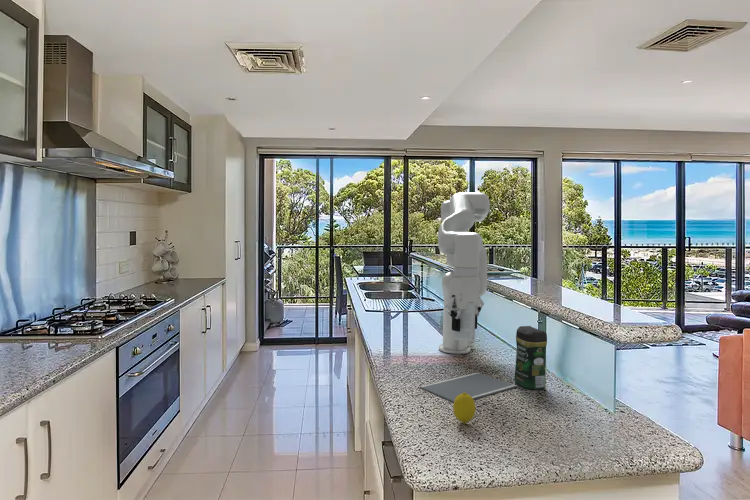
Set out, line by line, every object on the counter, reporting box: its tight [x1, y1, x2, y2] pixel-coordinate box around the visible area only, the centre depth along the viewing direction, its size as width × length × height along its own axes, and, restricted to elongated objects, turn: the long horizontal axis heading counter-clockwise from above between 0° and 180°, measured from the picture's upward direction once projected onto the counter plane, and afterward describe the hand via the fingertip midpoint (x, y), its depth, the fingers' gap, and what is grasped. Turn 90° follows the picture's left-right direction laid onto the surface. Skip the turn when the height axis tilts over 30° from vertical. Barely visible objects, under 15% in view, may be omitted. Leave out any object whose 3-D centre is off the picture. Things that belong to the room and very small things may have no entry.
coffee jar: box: [513, 325, 548, 391], centre depth 152 cm, size 10×8×19 cm
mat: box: [419, 372, 518, 404], centre depth 149 cm, size 26×16×1 cm, turn 126°
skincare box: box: [454, 302, 476, 341], centre depth 151 cm, size 6×4×12 cm
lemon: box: [452, 392, 476, 424], centre depth 122 cm, size 6×6×8 cm
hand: (464, 329), depth 151 cm, fingers closed on skincare box, 6 cm apart
